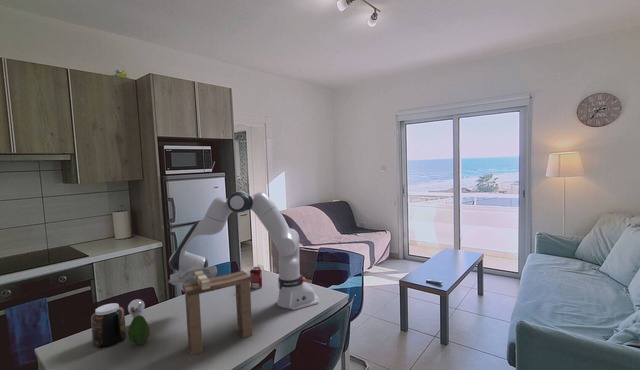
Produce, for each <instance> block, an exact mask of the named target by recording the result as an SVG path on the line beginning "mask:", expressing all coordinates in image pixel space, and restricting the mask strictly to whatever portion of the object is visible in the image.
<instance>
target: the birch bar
mask: <svg viewBox="0 0 640 370" xmlns="http://www.w3.org/2000/svg"><path fill="white" fill-rule="evenodd" d="M192 273H193V277H194V278H195V280H196V281H197V283H198V284H199V285H200V287H201V288H202V290H205V289H209V288H210V280H209V279H208V278H207V276H206V275H205V274H204V273H203V272H202V270H201V269H200V268H194V269H192Z"/></svg>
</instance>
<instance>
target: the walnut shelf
mask: <svg viewBox="0 0 640 370" xmlns="http://www.w3.org/2000/svg"><path fill="white" fill-rule="evenodd" d="M208 279H209V280H210V288H209V289H205V290H202V288H201V287H200V285H199V284H198V283H197V281H194V282H189V283H184V284H182V285H183V290H184V291H183V290H182V291H183V292H184V297H185V298H184V299H185V313H186V328H187V329H186V330H187V332H186V333H187V343H188V344H187V345H188V346H187V347H188V348H189V351H190V353H191V356H194V355H197V354H200V353H202V352H203V337H202V334H203V333H202V320H201V319H202V317H201V302H200V301H201V300H200V295H201V294H204V293H209V292H214V291H218V290H222V289H225V288H230V287H233V286H235V300H236V301H235V303H236V322H237V323H236V324H237V325H236V326H237V331H238V333H239V334H240V335H241V336H242V338H243V339H246V338H248V337H251V336H253V322H252V321H253V319H252V299H251V298H252V297H251V296H252V295H251V277H250V274H247V272H245V271H244V270H241V271H236V272H235V271H234V272H232V273H228V274H223V275H217V276H214V277H212V278H208Z"/></svg>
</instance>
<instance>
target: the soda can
mask: <svg viewBox="0 0 640 370" xmlns="http://www.w3.org/2000/svg"><path fill="white" fill-rule="evenodd" d="M262 274H263V273H262V269H261V267H260V266H253V267H251V268H250V272H249V276H250V277H251V282H250V289H252V290H258V289H260V288H262V287H263V277H262Z"/></svg>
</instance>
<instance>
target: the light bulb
mask: <svg viewBox="0 0 640 370" xmlns="http://www.w3.org/2000/svg"><path fill="white" fill-rule="evenodd" d="M145 307H146V305H145V302H144V301H143V300H142V299H138V298H137V299H133V300H132V301H130V302H129V303H128V305H127V311H128V313H129V314H130V316H131V318H132V320H133V319H134V318H135V317H136V316H138V315H141V316H142V315H143V312H144V310H145Z"/></svg>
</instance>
